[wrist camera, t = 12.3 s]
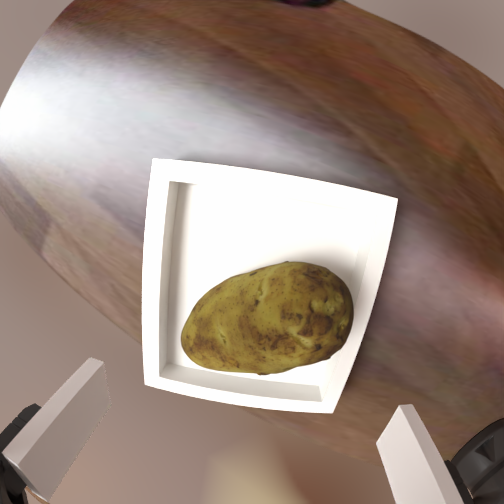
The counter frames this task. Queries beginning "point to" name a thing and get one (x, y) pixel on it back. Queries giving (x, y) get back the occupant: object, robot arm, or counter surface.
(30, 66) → the counter surface
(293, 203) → the tray
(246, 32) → the counter surface
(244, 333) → the potato
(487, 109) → the counter surface
